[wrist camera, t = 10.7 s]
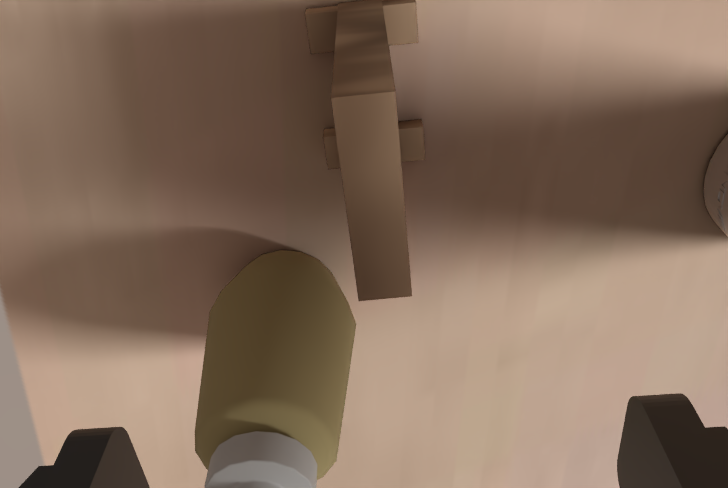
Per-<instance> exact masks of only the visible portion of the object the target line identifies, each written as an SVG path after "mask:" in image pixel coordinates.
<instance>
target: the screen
mask: <svg viewBox="0 0 728 488" xmlns="http://www.w3.org/2000/svg"><path fill="white" fill-rule="evenodd" d="M305 18H306V25H307V32H308V38H309V45H310V52H311V54H316V53H326V52H334V65H333V78H332V91H331V102H332V109H333V116H334V124H335V128H330V129H324V134H323V139H324V146H325V153H326V160H327V166H328V169H337V168H341V175H342V182H343V189H344V197H345V204H346V211H347V219H348V226H349V233H350V241H351V248H352V255H353V263H354V270H355V277H356V284H357V292H358V299H359V301H364V300H375V299H386V298H397V297H408V296H412V290H411V278H410V266H409V253H408V241H407V228H406V216H405V204H404V191H403V179H402V166H401V162H408V161H418V160H425V148H424V131H423V124H422V119H418V120H408V121H399V122H398V117H397V105H396V92H395V85H394V78H393V72H392V65H391V58H390V52H389V46H391V45H400V44H409V43H418V29H417V12H416V1H415V0H362V1H353V2H344V3H338V5H337V6H328V7H319V8H310V9H306V12H305Z"/></svg>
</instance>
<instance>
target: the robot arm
mask: <svg viewBox="0 0 728 488" xmlns="http://www.w3.org/2000/svg"><path fill="white" fill-rule="evenodd" d="M704 198H705V204H706V208H707V210H708V212H709V214H710V216H711V218H712V219H713V221H714V222H715V223H716V224H717V225H718V226H719V227H720V229H721V230H722V231H723V232H724V233H725V234H726V236H727V237H728V134H727V135H726V137H725V138H724V139H723V140H722V142H721V143H720V144H719V146H718V148H717V149H716V151H715V153H714V155H713V157H712V158H711V160H710V163H709V166H708V169H707V172H706V175H705V181H704ZM617 472H618V481H619V486H620V488H728V429H727V428H726V427H710V428H705V427H704V425H703V423H702V421H701V420H700V418H699V416H698V414H697V413H696V411H695V409H694V407H693V405H692V404H691V402H690V401H689V399H688V398H687V397H686V396H685V395H683V394H663V395H647V396H633V397H631V398H630V399H629V402H628V405H627V411H626V416H625V422H624V427H623V432H622V438H621V443H620V449H619V454H618V460H617ZM19 488H149V485H148V482H147V480H146V477H145V475H144V472H143V470H142V467H141V465H140V462H139V460H138V457H137V455H136V452H135V450H134V447H133V445H132V443H131V440H130V438H129V435H128V433H127V431H126V430H125V429H124V428H123V427H110V428H94V429H78V430H74V431H72V432H71V433H70V434H69V435H68V437H67V438H66V440H65V442H64V444H63V446H62V448H61V451H60V453H59V455H58V457H57V459H56V461H55V463H54V465H51V466H39V467H38V468H37V469H36V470H35V471H34V472H33V473H32V474H31V475H30V476H29V477H28V478H27V479H26V480H25V482H24V483H23V484H22V485H21V486H20V487H19Z"/></svg>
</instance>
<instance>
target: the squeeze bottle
mask: <svg viewBox="0 0 728 488" xmlns="http://www.w3.org/2000/svg"><path fill="white" fill-rule="evenodd" d="M355 329H356V322H355V320H354V317H353V314H352V312H351V309H350V306H349V304H348V301H347V300H346V298H345V296H344V294H343V292H342V290H341V289H340V287H339V285H338V283H337V281H336V280H335V278H334V276H333V274H332V272H331V271H330V270H329V269H328V268H327V267H326V266H324V265H323V264H322V263H321V262H320V261H319V260H318V259H316V258H313V257H311V256H309V255H307V254H305V253H302V252H296V251H286V250H279V251H275V252H271V253H267V254H262V255H261V256H259V257H258V258H256V259H255V260H253V261H252V262H251V263H249V264H248V265H247V266H246V267H245V268H244V269H243V270H242V271H241V272H240V273H239V274H238V275H237V276H236V277H235V278H234V279H233V280H232V281H231V282H230V283H229V284H228V285H227V286H226V287H225V288H224V289H223V290H222V291H221V293H220V294H219V296H218V298H217V300H216V302H215V303H214V305H213V307H212V309H211V310H210V314H209V322H208V330H207V338H206V346H205V354H204V362H203V370H202V378H201V386H200V394H199V402H198V410H197V418H196V426H195V451H196V453H197V455H198V456H199V458H200V459H201V461H202V463H203V464H204V466H205V467H206V469H208V473H207V477H206V482H205V488H316V482H317V480H318V479H320V478H322V477H323V476H324V475H325V474H326V473H327V471H328V470H329V469H330V468H331V467H332V465H333V464H334V463H335V462H336V459H337V452H338V446H339V439H340V432H341V425H342V418H343V411H344V404H345V398H346V391H347V384H348V377H349V370H350V363H351V356H352V349H353V342H354V336H355Z"/></svg>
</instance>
